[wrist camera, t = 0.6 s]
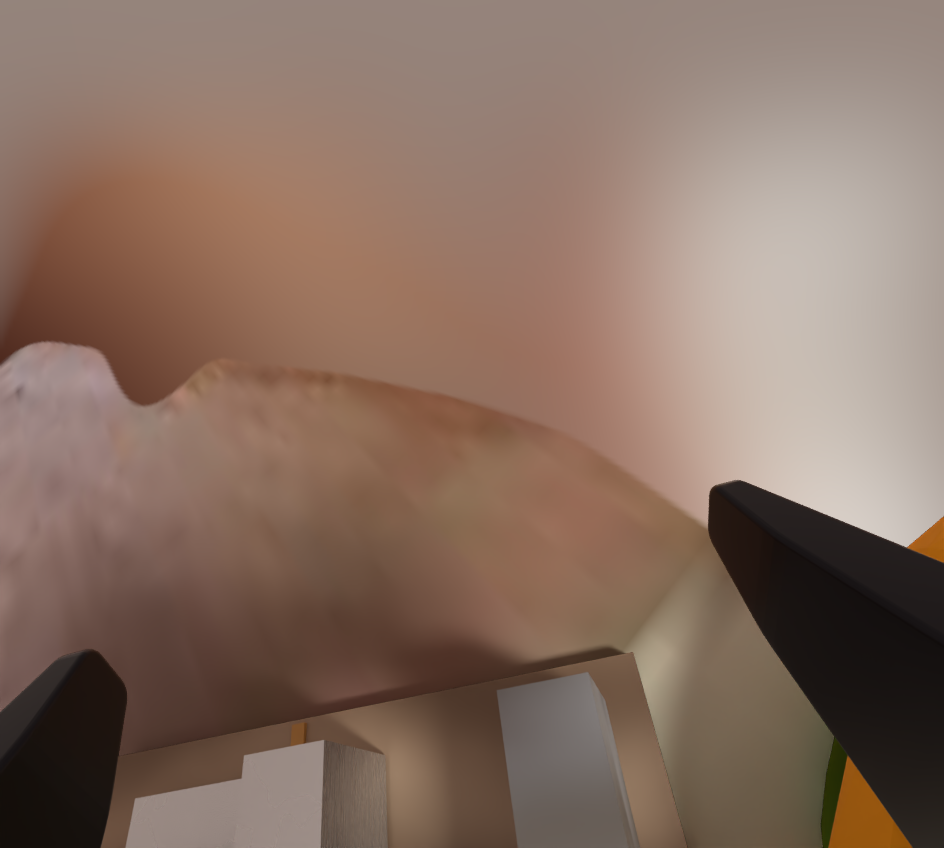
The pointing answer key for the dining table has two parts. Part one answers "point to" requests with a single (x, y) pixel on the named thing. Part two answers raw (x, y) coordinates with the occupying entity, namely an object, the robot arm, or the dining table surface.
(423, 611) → the dining table surface
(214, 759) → the press base
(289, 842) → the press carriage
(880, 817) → the corn
